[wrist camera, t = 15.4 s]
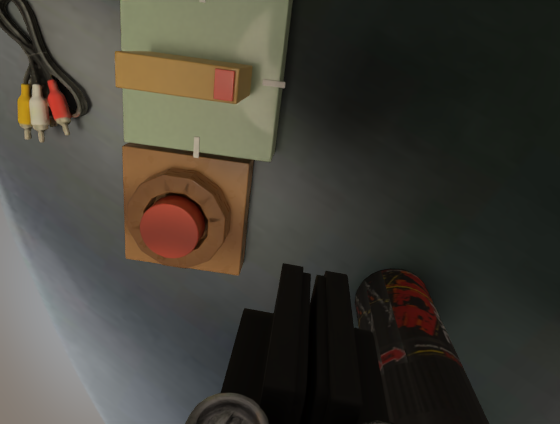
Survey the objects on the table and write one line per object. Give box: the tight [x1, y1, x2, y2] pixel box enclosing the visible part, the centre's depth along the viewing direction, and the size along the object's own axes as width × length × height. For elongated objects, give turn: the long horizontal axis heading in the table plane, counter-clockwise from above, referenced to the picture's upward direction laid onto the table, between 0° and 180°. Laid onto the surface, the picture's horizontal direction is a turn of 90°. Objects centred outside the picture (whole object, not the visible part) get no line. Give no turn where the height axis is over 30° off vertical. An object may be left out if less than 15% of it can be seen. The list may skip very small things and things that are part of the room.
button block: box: [122, 143, 254, 275], centre depth 30 cm, size 9×9×4 cm
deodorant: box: [355, 269, 489, 424], centre depth 26 cm, size 6×6×15 cm
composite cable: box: [0, 0, 88, 142], centre depth 27 cm, size 10×5×2 cm, turn 7°
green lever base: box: [120, 0, 293, 162], centre depth 26 cm, size 12×11×3 cm
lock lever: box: [115, 51, 253, 104], centre depth 23 cm, size 6×2×5 cm, turn 83°
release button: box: [140, 195, 205, 258], centre depth 27 cm, size 4×4×2 cm
